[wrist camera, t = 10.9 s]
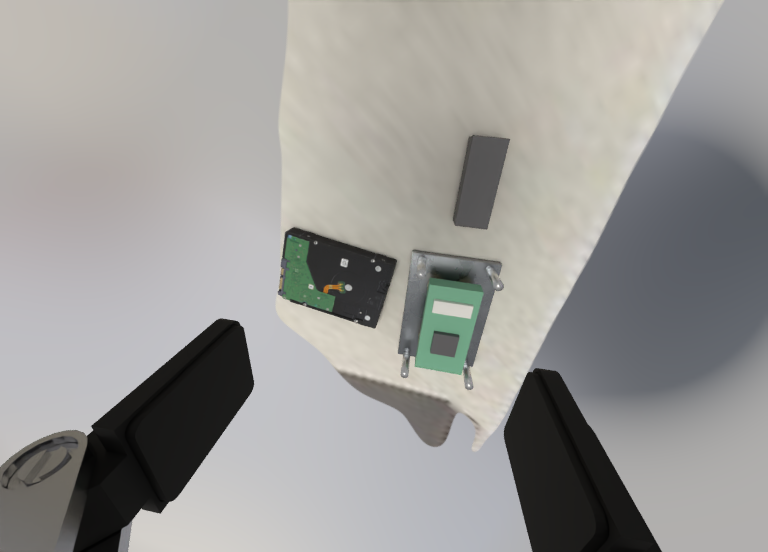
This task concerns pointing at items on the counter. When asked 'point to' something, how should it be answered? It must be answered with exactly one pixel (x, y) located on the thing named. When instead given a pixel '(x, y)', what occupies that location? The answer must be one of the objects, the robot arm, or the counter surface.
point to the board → (447, 325)
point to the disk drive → (334, 277)
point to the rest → (480, 181)
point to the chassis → (453, 270)
